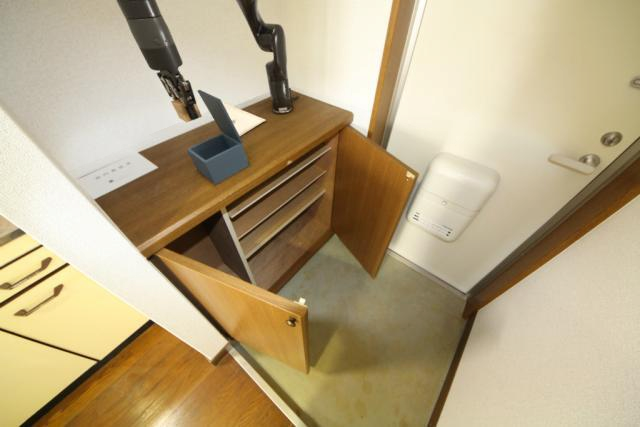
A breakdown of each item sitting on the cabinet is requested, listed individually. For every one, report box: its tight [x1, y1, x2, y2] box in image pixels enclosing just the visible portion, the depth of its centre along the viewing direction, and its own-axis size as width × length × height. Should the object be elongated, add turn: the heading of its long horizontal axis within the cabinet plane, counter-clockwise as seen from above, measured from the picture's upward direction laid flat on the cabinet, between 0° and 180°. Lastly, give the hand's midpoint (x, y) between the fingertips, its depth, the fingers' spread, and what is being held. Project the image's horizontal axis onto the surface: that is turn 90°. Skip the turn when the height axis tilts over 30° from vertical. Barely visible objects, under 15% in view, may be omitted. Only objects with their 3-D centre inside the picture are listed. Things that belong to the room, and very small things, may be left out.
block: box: [170, 98, 203, 123], centre depth 62 cm, size 5×5×5 cm
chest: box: [185, 132, 250, 186], centre depth 77 cm, size 14×12×9 cm
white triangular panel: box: [222, 101, 267, 137], centre depth 97 cm, size 15×6×20 cm
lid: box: [197, 89, 243, 144], centre depth 70 cm, size 15×12×1 cm
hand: (190, 116), depth 63 cm, fingers closed on block, 4 cm apart
